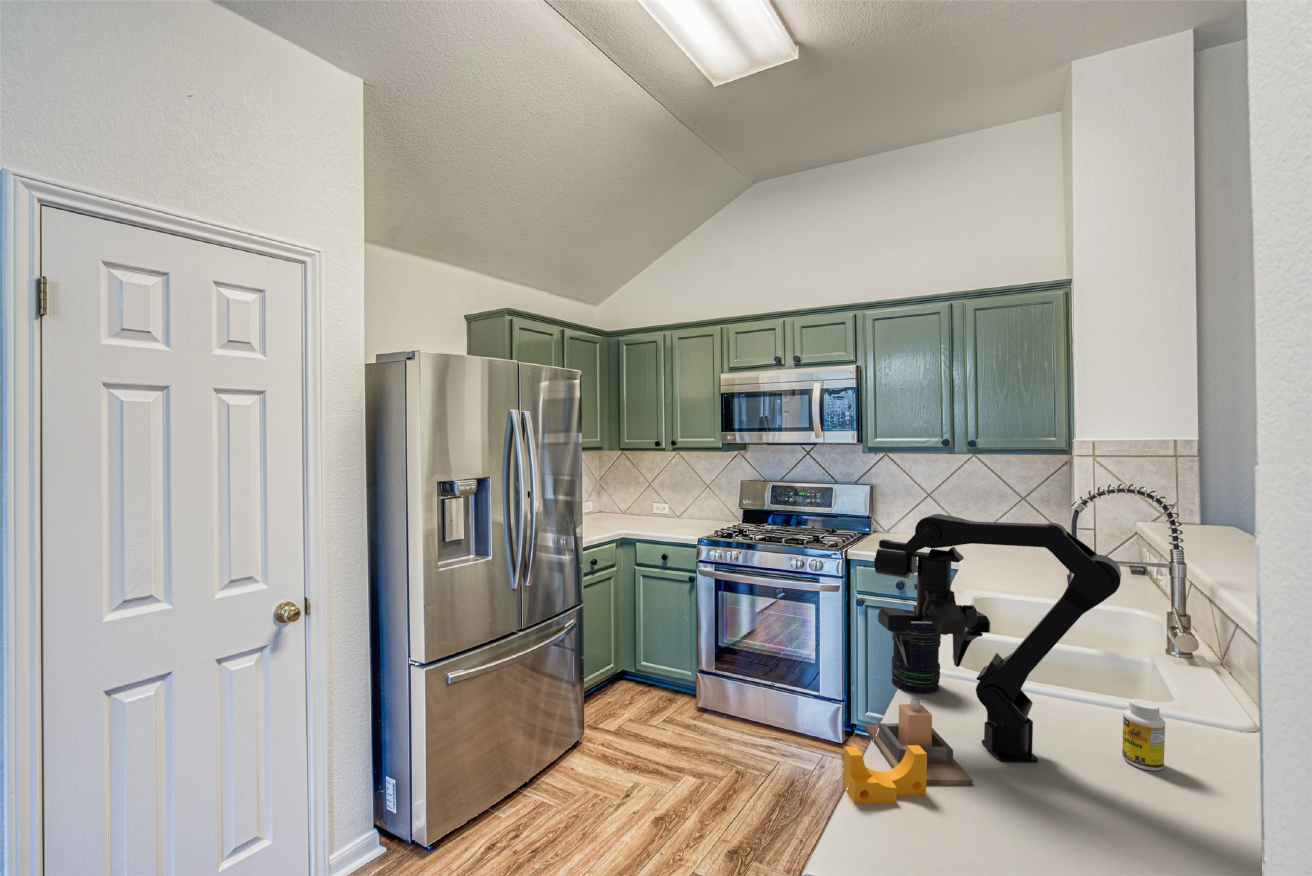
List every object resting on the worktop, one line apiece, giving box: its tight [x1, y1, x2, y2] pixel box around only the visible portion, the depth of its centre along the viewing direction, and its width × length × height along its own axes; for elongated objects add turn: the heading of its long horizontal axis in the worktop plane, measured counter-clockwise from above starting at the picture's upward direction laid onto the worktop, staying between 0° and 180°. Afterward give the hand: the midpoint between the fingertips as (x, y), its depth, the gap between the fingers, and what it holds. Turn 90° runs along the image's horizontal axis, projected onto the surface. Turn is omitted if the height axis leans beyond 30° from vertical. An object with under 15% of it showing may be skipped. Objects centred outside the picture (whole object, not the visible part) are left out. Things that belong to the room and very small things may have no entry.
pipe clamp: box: [843, 745, 927, 805], centre depth 95 cm, size 12×4×6 cm, turn 94°
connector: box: [898, 697, 933, 747], centre depth 106 cm, size 4×4×9 cm
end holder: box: [863, 722, 974, 786], centre depth 106 cm, size 11×18×3 cm, turn 0°
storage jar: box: [890, 610, 942, 695], centre depth 135 cm, size 10×10×15 cm
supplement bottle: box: [1121, 698, 1166, 772], centre depth 104 cm, size 6×6×10 cm
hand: (932, 665), depth 115 cm, fingers open, 9 cm apart
